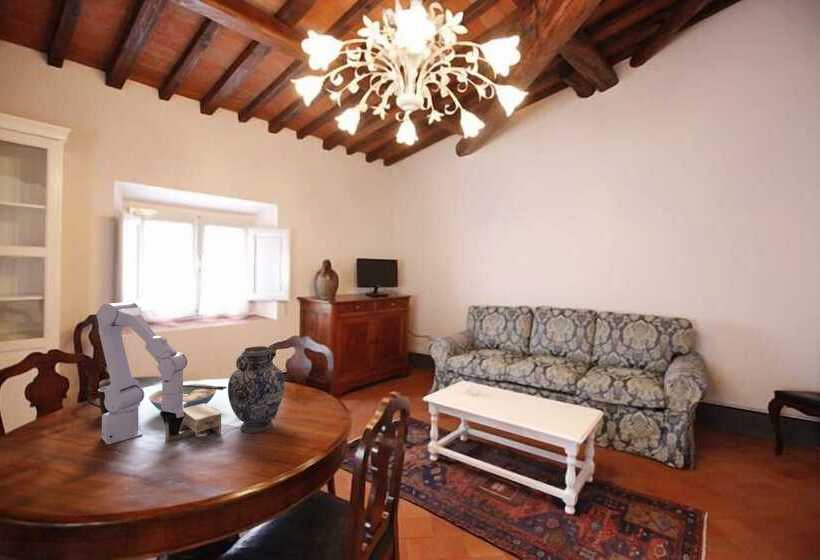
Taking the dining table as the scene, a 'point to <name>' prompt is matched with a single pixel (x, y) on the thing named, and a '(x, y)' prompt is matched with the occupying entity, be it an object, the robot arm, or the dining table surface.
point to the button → (202, 433)
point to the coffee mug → (101, 398)
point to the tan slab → (201, 418)
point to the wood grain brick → (176, 437)
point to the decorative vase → (256, 388)
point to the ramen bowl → (189, 395)
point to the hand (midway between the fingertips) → (172, 433)
